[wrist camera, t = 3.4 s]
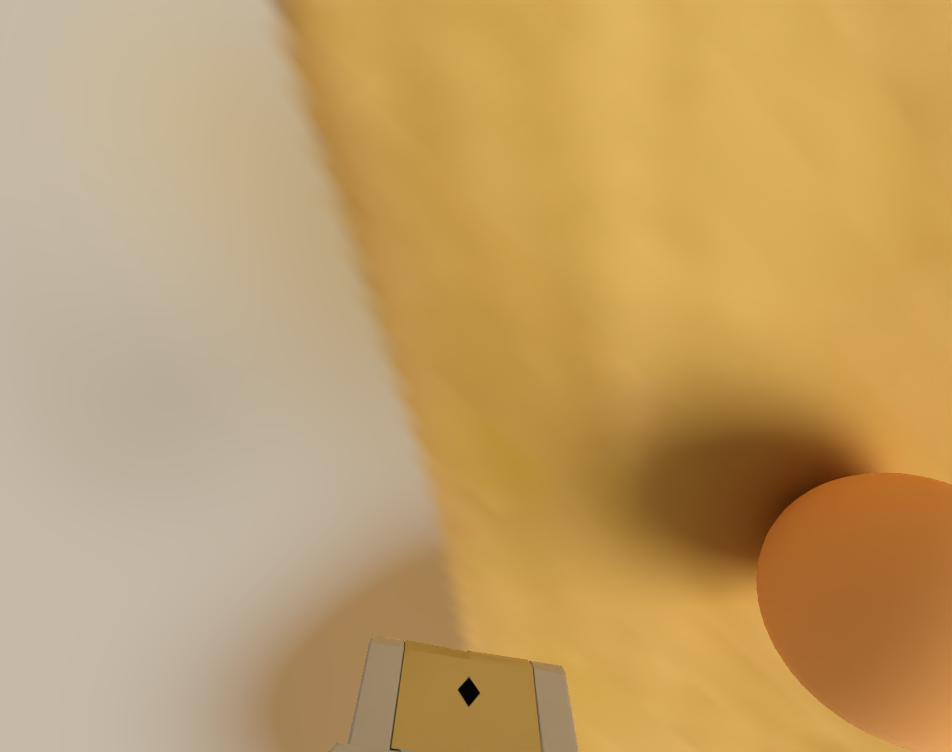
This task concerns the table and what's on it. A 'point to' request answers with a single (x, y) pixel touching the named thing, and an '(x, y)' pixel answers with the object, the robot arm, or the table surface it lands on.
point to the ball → (867, 603)
